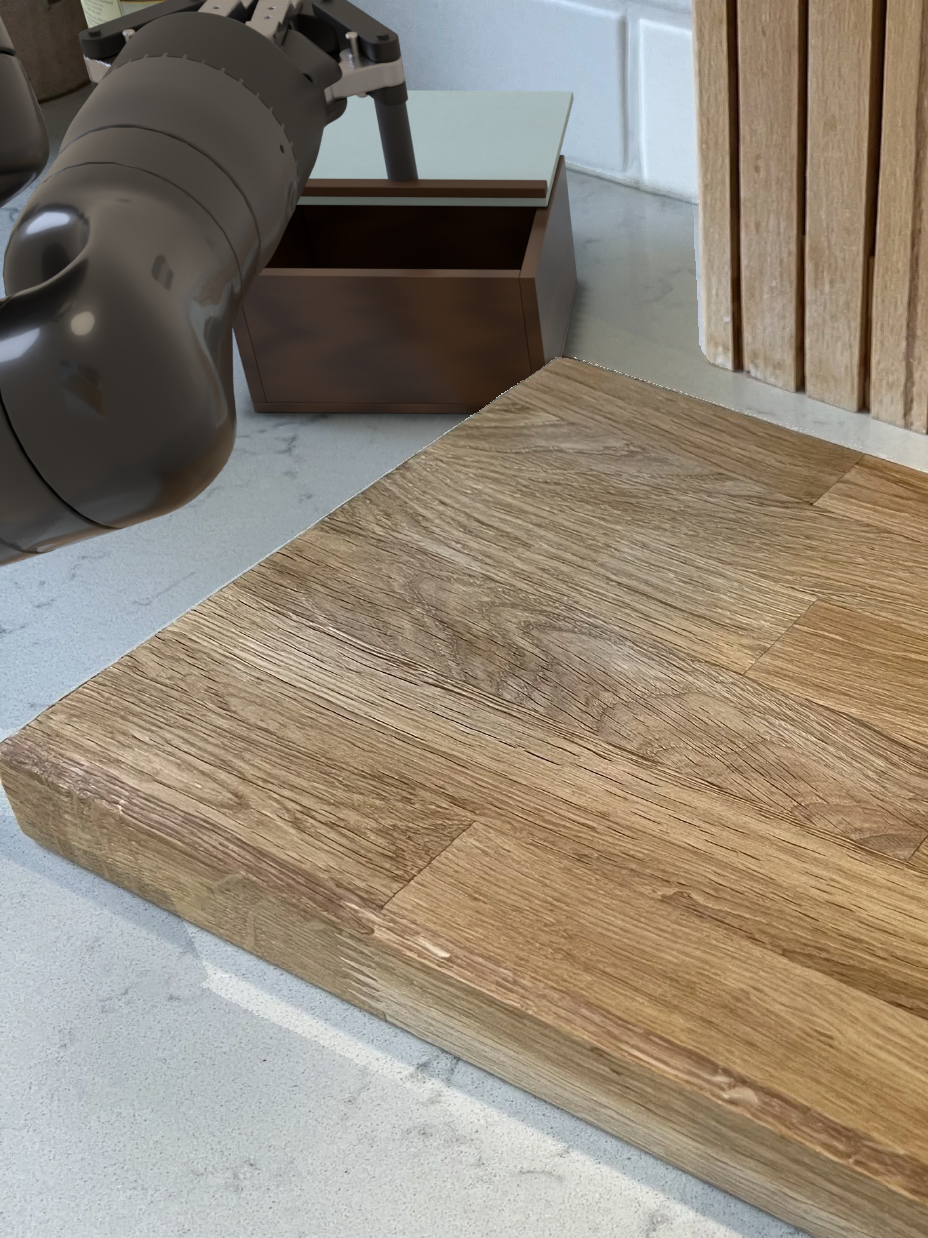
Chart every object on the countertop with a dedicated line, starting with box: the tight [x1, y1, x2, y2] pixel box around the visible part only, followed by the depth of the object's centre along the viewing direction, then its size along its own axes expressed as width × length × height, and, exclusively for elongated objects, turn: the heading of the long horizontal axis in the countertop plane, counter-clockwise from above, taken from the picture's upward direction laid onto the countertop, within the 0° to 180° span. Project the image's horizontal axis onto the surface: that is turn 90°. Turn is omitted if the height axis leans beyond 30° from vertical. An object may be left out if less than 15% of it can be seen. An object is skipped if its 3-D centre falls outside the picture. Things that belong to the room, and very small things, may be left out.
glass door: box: [297, 89, 575, 206], centre depth 95 cm, size 16×14×8 cm
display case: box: [232, 154, 578, 414], centre depth 96 cm, size 16×14×8 cm
